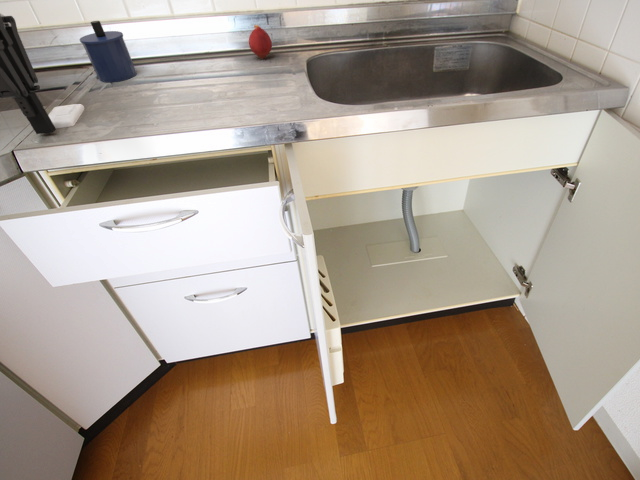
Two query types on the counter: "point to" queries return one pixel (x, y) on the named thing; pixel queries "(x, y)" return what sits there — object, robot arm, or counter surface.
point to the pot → (111, 60)
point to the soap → (66, 115)
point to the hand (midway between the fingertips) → (46, 131)
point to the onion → (260, 42)
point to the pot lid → (100, 35)
